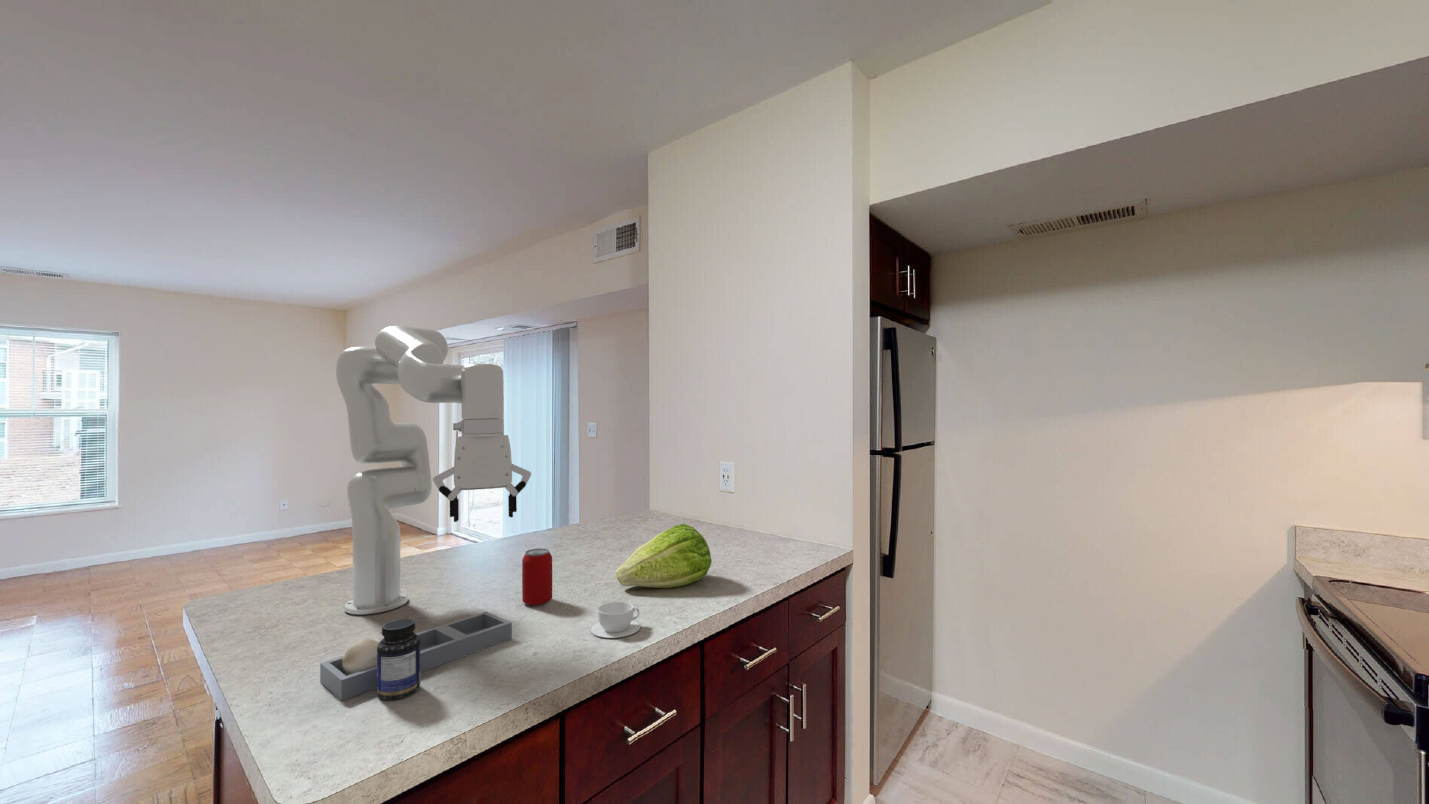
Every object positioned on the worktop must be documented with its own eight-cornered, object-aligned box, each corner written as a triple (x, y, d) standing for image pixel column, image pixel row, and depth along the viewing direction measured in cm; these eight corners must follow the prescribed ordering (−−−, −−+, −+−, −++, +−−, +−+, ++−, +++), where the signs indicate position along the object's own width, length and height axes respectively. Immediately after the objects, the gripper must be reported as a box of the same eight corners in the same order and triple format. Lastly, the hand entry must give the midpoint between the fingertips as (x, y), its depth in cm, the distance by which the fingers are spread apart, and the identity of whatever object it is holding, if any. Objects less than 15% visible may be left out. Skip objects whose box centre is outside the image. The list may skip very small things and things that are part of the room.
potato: (336, 677, 94) (336, 641, 94) (375, 664, 99) (375, 630, 99) (350, 688, 90) (350, 651, 90) (390, 674, 95) (390, 639, 95)
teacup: (598, 644, 109) (598, 619, 109) (585, 626, 118) (585, 603, 118) (647, 634, 113) (647, 611, 113) (631, 617, 122) (631, 596, 122)
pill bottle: (388, 683, 93) (388, 616, 93) (426, 681, 94) (426, 615, 94) (369, 702, 87) (369, 631, 87) (410, 700, 88) (409, 630, 88)
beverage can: (556, 597, 135) (556, 547, 135) (545, 608, 128) (545, 555, 128) (529, 597, 135) (529, 547, 135) (517, 607, 128) (517, 554, 129)
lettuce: (637, 619, 133) (623, 606, 148) (724, 571, 143) (703, 563, 157) (614, 562, 133) (602, 555, 148) (702, 518, 142) (683, 515, 157)
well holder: (320, 682, 94) (320, 663, 94) (486, 626, 117) (486, 611, 117) (341, 700, 88) (341, 680, 88) (511, 638, 111) (511, 622, 111)
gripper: (430, 430, 100) (431, 526, 100) (531, 427, 107) (532, 517, 106) (434, 429, 107) (435, 518, 107) (529, 427, 114) (530, 511, 113)
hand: (484, 518), depth 107 cm, fingers open, 9 cm apart
